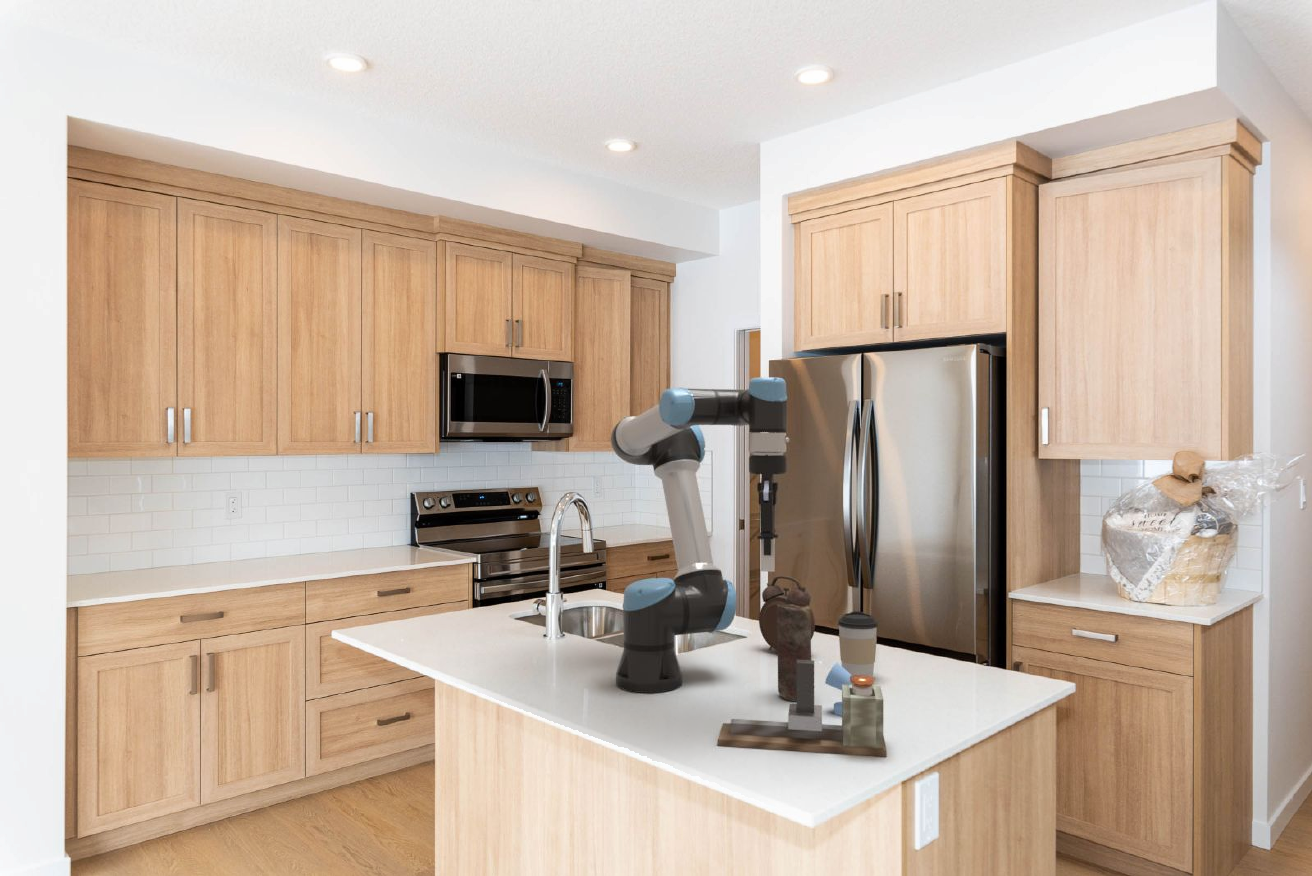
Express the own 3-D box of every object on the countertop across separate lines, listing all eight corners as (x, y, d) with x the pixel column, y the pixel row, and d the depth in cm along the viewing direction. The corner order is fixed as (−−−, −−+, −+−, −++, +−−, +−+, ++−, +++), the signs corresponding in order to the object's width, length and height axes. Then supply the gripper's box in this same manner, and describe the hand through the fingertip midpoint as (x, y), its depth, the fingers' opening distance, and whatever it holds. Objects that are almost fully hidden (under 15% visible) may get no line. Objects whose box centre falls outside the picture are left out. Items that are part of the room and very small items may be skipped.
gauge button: (850, 723, 158) (850, 680, 158) (849, 715, 163) (849, 674, 163) (875, 725, 158) (875, 681, 158) (873, 717, 162) (873, 675, 162)
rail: (717, 745, 161) (717, 691, 160) (723, 729, 169) (723, 677, 169) (886, 756, 155) (886, 700, 155) (882, 739, 164) (883, 685, 164)
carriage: (788, 729, 159) (788, 666, 159) (789, 716, 166) (789, 656, 166) (821, 731, 158) (822, 667, 158) (821, 718, 165) (821, 657, 165)
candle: (770, 694, 192) (770, 602, 192) (799, 690, 195) (799, 600, 195) (789, 703, 185) (789, 609, 185) (818, 699, 188) (819, 606, 188)
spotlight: (822, 713, 179) (855, 718, 176) (822, 664, 179) (855, 669, 175) (830, 706, 183) (863, 712, 180) (830, 658, 183) (863, 663, 180)
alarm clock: (818, 656, 224) (818, 578, 224) (801, 661, 219) (801, 581, 219) (773, 646, 235) (773, 571, 235) (756, 651, 230) (756, 574, 230)
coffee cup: (878, 685, 199) (878, 619, 199) (837, 682, 201) (837, 617, 201) (876, 674, 208) (876, 611, 208) (837, 672, 210) (837, 609, 209)
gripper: (785, 455, 170) (785, 576, 170) (787, 453, 183) (787, 566, 183) (746, 455, 171) (746, 575, 171) (751, 453, 184) (751, 565, 184)
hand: (767, 570), depth 177 cm, fingers closed
